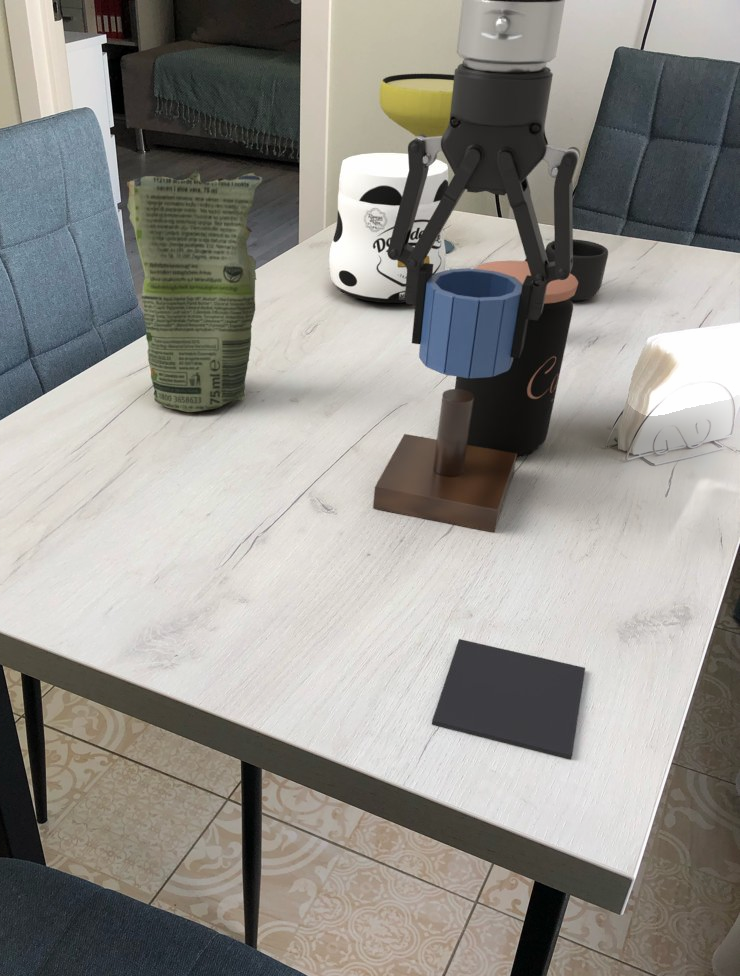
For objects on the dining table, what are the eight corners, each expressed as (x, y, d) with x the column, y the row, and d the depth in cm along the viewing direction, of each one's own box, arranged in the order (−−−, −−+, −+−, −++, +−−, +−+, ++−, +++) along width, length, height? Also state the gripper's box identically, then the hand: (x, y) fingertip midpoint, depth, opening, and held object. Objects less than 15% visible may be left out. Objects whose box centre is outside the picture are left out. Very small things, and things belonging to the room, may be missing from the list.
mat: (584, 671, 74) (585, 667, 73) (570, 759, 66) (572, 755, 66) (458, 642, 76) (459, 638, 76) (431, 724, 69) (432, 720, 68)
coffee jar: (527, 470, 99) (561, 302, 88) (434, 445, 103) (454, 281, 92) (557, 431, 107) (591, 271, 96) (468, 409, 111) (491, 253, 100)
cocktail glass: (486, 239, 165) (508, 79, 150) (457, 268, 152) (479, 96, 137) (389, 225, 171) (401, 70, 156) (353, 252, 158) (363, 85, 143)
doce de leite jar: (411, 320, 133) (424, 186, 122) (306, 296, 140) (310, 167, 129) (460, 287, 145) (476, 161, 134) (361, 266, 152) (369, 145, 141)
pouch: (132, 397, 111) (113, 172, 96) (202, 367, 119) (195, 153, 104) (200, 426, 106) (191, 191, 91) (269, 393, 113) (271, 170, 98)
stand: (513, 474, 98) (530, 380, 92) (494, 532, 89) (512, 433, 83) (402, 454, 101) (411, 362, 95) (372, 508, 92) (381, 410, 86)
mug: (593, 287, 146) (603, 240, 142) (603, 307, 139) (614, 258, 135) (515, 283, 147) (523, 236, 143) (521, 303, 140) (529, 254, 136)
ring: (517, 349, 89) (530, 275, 85) (503, 383, 83) (516, 305, 78) (430, 337, 91) (438, 264, 87) (410, 369, 85) (418, 292, 81)
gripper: (359, 61, 72) (345, 344, 86) (645, 79, 67) (581, 378, 81) (384, 49, 78) (367, 316, 92) (649, 65, 73) (589, 346, 86)
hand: (467, 345), depth 86 cm, fingers closed on ring, 8 cm apart
